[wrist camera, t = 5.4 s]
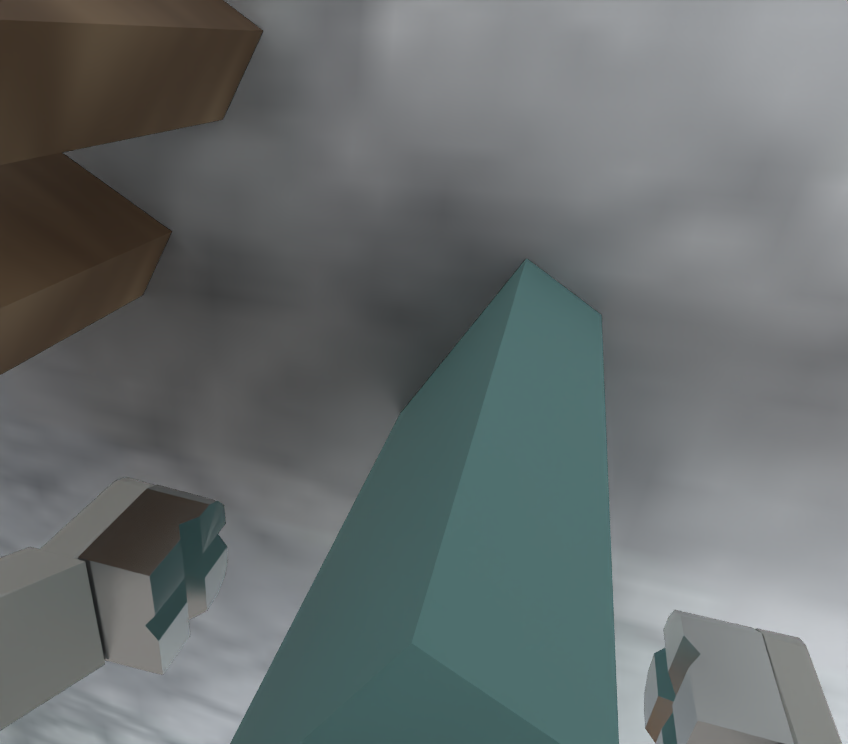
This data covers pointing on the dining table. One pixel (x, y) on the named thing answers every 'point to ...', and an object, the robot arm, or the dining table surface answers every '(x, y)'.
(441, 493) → the teal tile
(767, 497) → the dining table surface
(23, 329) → the walnut tile
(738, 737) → the robot arm
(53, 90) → the walnut tile
